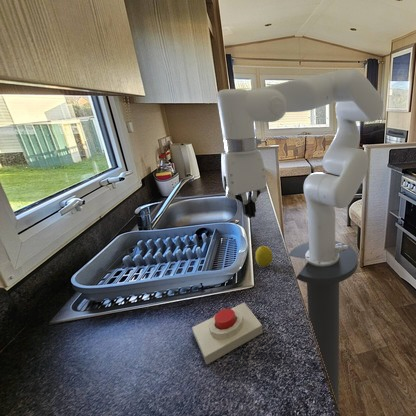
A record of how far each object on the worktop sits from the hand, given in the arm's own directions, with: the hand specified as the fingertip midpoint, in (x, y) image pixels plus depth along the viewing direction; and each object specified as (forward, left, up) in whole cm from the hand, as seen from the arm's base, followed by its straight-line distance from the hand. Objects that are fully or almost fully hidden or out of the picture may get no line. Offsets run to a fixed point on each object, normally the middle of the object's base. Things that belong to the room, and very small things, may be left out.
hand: (250, 215), depth 69 cm
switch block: (+9, +15, -23) cm, 29 cm away
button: (+9, +15, -20) cm, 26 cm away
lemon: (-3, -10, -23) cm, 26 cm away
